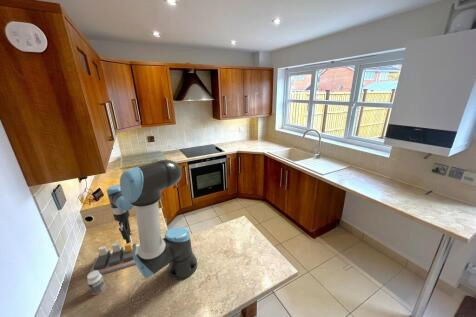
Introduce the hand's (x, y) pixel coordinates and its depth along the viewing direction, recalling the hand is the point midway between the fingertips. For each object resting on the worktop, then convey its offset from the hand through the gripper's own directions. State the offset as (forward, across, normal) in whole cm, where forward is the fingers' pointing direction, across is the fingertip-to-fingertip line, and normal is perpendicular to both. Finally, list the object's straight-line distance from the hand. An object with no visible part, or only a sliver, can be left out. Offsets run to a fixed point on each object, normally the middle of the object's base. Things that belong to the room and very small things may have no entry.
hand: (130, 245), depth 115 cm
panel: (+5, -3, +7) cm, 9 cm away
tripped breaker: (+1, -3, 0) cm, 3 cm away
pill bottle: (+6, -21, +12) cm, 25 cm away
